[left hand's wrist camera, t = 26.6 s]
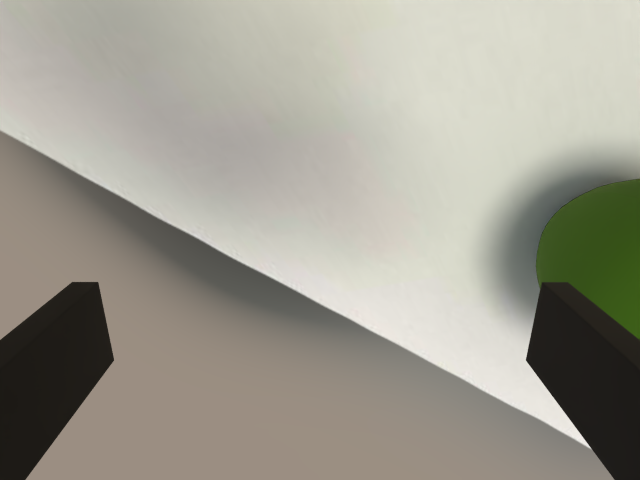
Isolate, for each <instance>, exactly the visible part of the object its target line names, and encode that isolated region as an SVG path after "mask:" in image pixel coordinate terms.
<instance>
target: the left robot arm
mask: <svg viewBox="0 0 640 480" xmlns="http://www.w3.org/2000/svg"><path fill="white" fill-rule="evenodd" d="M113 361H114V358H113V353H112V348H111V343H110V338H109V333H108V328H107V323H106V318H105V313H104V308H103V304H102V299H101V294H100V289H99V284H98V282H72V283H71V284H69V285H68V286H67V287H66V288H64V289H63V290H62V291H61V292H59V293H58V294H57V295H56V296H54V297H53V298H52V299H51V300H49V301H48V302H47V303H46V304H44V305H43V306H42V307H41V308H39V309H38V310H37V311H36V312H35V313H33V314H32V315H31V316H30V317H28V318H27V319H26V320H25V321H23V322H22V323H21V324H20V325H18V326H17V327H16V328H15V329H13V330H12V331H11V332H10V333H8V334H7V335H6V336H5V337H3V338H2V339H1V340H0V480H25V479H26V478H27V477H28V475H29V474H30V473H31V471H32V470H33V469H34V467H35V466H36V465H37V463H38V462H39V461H40V459H41V458H42V457H43V455H44V454H45V452H46V451H47V450H48V448H49V447H50V446H51V444H52V443H53V442H54V440H55V439H56V438H57V436H58V435H59V434H60V432H61V431H62V430H63V428H64V427H65V426H66V424H67V423H68V421H69V420H70V419H71V417H72V416H73V415H74V413H75V412H76V411H77V409H78V408H79V407H80V405H81V404H82V403H83V401H84V400H85V399H86V397H87V396H88V395H89V393H90V392H91V391H92V389H93V388H94V387H95V385H96V384H97V382H98V381H99V380H100V378H101V377H102V376H103V374H104V373H105V372H106V370H107V369H108V368H109V366H110V365H111V364H112V362H113ZM526 361H527V362H528V364H529V365H530V366H531V368H532V369H533V370H534V372H535V373H536V374H537V376H538V377H539V378H540V380H541V381H542V382H543V384H544V385H545V387H546V388H547V389H548V391H549V392H550V393H551V395H552V396H553V397H554V399H555V400H556V401H557V403H558V404H559V405H560V407H561V408H562V409H563V411H564V412H565V413H566V415H567V416H568V417H569V419H570V420H571V422H572V423H573V424H574V426H575V427H576V428H577V430H578V431H579V432H580V434H581V435H582V436H583V438H584V439H585V440H586V442H587V443H588V444H589V446H590V447H591V448H592V450H593V451H594V453H595V454H596V455H597V457H598V458H599V459H600V461H601V462H602V463H603V465H604V466H605V467H606V469H607V470H608V471H609V473H610V474H611V475H612V477H613V478H614V479H615V480H640V340H639V339H638V338H637V337H635V336H634V335H633V334H632V333H630V332H629V331H628V330H627V329H625V328H624V327H623V326H622V325H620V324H619V323H618V322H617V321H615V320H614V319H613V318H612V317H610V316H609V315H608V314H607V313H606V312H604V311H603V310H602V309H601V308H599V307H598V306H597V305H596V304H594V303H593V302H592V301H591V300H589V299H588V298H587V297H586V296H584V295H583V294H582V293H581V292H579V291H578V290H577V289H576V288H574V287H573V286H572V285H571V284H569V283H568V282H542V284H541V289H540V294H539V299H538V304H537V308H536V313H535V318H534V323H533V328H532V333H531V338H530V343H529V348H528V353H527V357H526Z"/></svg>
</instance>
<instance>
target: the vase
mask: <svg viewBox="0 0 640 480" xmlns="http://www.w3.org/2000/svg"><path fill="white" fill-rule="evenodd" d="M536 271H537V279H538V283H539V286H540V289H541V284H542V282H568V283H569V284H571V285H572V286H573V287H574V288H576V289H577V290H578V291H579V292H581V293H582V294H583V295H584V296H586V297H587V298H588V299H589V300H591V301H592V302H593V303H594V304H596V305H597V306H598V307H599V308H601V309H602V310H603V311H604V312H606V313H607V314H608V315H609V316H610V317H612V318H613V319H614V320H615V321H617V322H618V323H619V324H620V325H622V326H623V327H624V328H625V329H627V330H628V331H629V332H630V333H632V334H633V335H634V336H635V337H637V338H638V339H639V340H640V179H635V180H629V181H623V182H617V183H612V184H608V185H604V186H601V187H597V188H595V189H593V190H591V191H589V192H587V193H584V194H582V195H581V196H579V197H577V198H575V199H574V200H572V201H570V202H569V203H567V204H566V205H564V206H563V207H562V208H561V209H560V210H559V211H558V212H556V213H555V214H554V216H553V217H552V218H551V219H550V221H549V222H548V223H547V225H546V227H545V229H544V231H543V233H542V236H541V239H540V242H539V247H538V251H537V260H536Z"/></svg>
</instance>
